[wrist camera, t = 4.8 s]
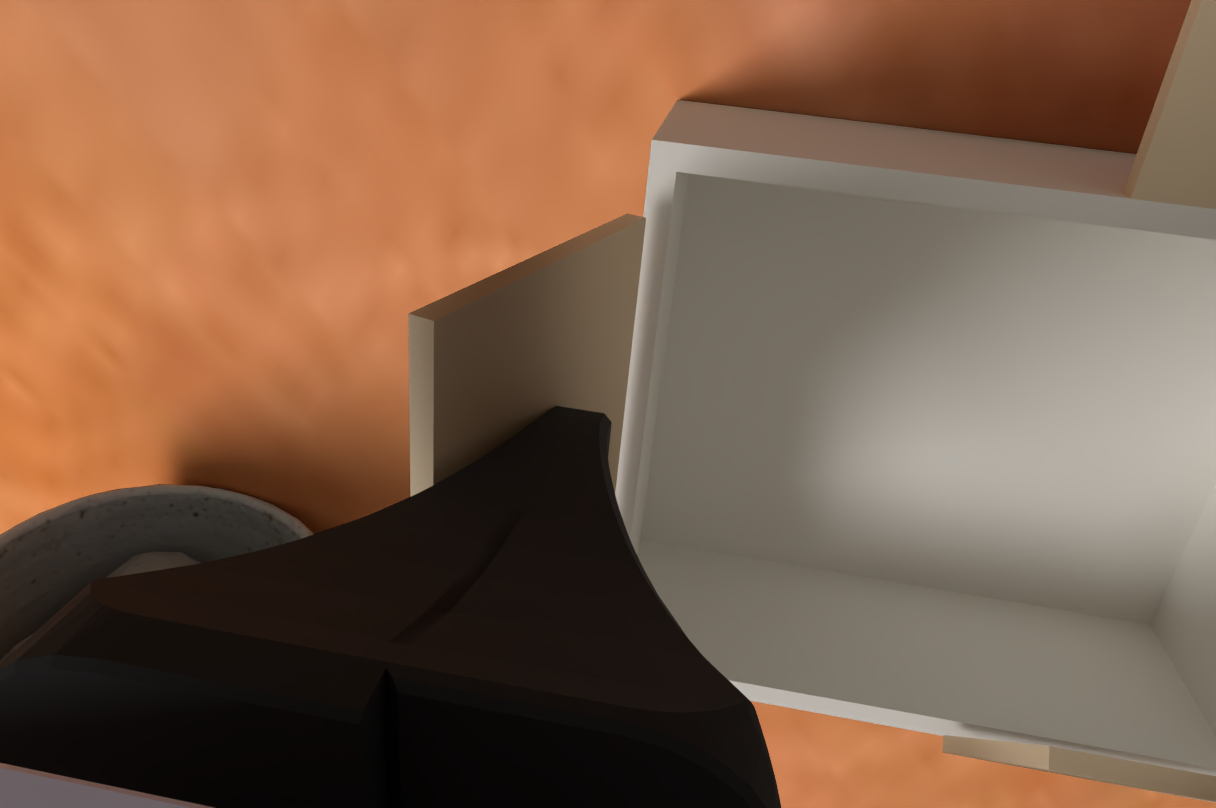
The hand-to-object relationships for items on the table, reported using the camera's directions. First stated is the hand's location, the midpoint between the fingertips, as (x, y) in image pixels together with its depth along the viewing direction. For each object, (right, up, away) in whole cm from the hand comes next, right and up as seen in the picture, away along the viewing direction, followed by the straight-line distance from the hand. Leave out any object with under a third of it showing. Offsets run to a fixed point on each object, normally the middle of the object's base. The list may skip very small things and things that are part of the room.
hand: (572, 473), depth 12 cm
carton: (+10, +3, +5) cm, 11 cm away
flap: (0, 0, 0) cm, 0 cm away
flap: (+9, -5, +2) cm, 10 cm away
